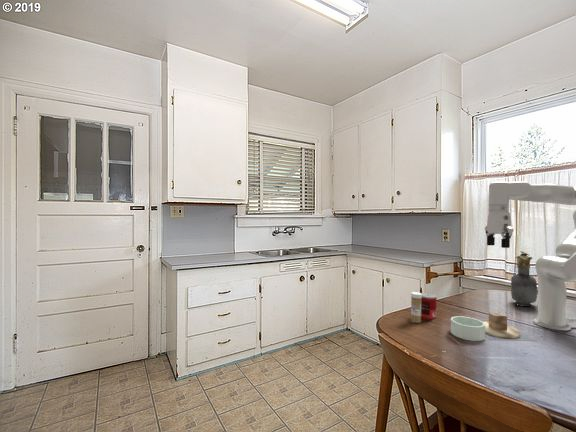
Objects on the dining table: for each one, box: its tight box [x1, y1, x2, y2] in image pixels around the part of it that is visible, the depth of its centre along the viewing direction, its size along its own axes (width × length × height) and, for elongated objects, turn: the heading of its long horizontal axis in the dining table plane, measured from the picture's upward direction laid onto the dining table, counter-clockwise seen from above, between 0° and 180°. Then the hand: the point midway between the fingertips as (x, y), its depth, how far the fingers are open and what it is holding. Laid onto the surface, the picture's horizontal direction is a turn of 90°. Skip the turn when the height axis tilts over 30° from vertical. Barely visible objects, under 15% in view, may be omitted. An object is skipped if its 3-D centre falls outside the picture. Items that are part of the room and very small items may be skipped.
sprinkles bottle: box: [410, 291, 422, 324], centre depth 134 cm, size 5×5×14 cm
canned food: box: [420, 292, 438, 321], centre depth 140 cm, size 8×8×11 cm
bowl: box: [450, 315, 486, 342], centre depth 119 cm, size 12×12×6 cm
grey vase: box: [510, 250, 538, 307], centre depth 161 cm, size 11×19×30 cm, turn 145°
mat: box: [485, 331, 537, 342], centre depth 122 cm, size 18×18×1 cm
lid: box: [483, 312, 521, 339], centre depth 122 cm, size 15×15×7 cm
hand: (497, 246), depth 130 cm, fingers open, 9 cm apart
